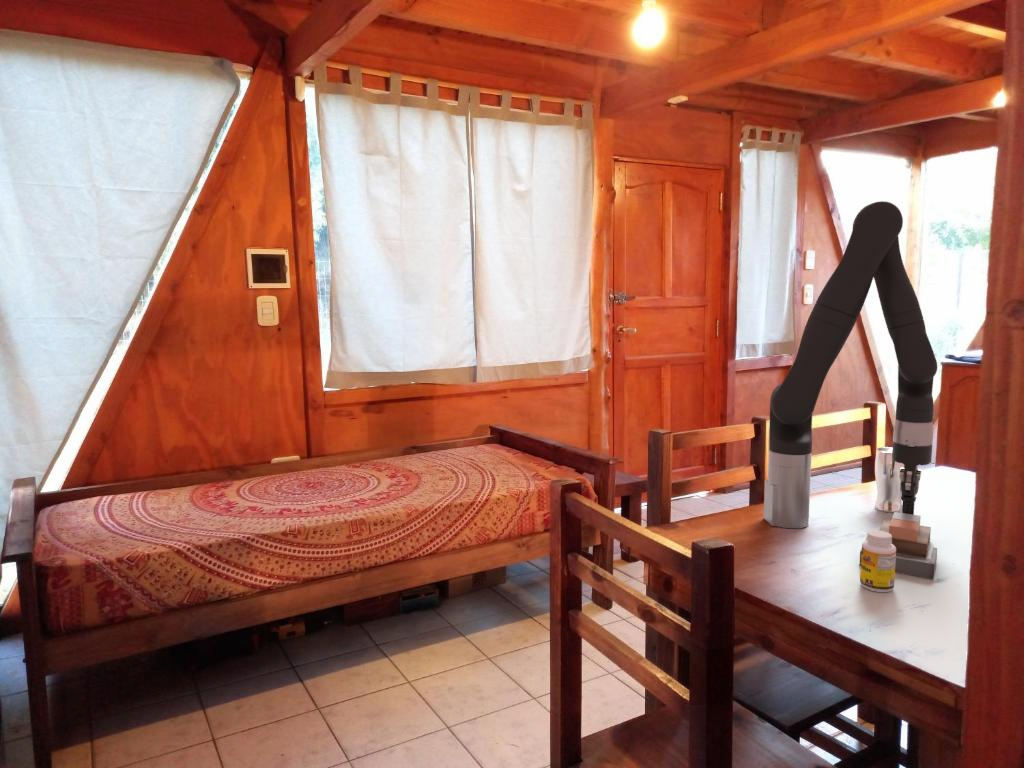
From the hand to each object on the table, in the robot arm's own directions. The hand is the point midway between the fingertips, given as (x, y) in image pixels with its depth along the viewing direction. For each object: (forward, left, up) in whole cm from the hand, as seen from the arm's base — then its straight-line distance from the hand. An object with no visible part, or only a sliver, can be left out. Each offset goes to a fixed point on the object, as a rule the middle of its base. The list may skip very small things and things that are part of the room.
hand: (907, 517), depth 155 cm
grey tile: (-3, -4, -1) cm, 5 cm away
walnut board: (-4, -7, -4) cm, 8 cm away
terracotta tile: (-5, -9, -1) cm, 11 cm away
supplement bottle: (-19, -28, -4) cm, 34 cm away
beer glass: (+5, +18, -4) cm, 19 cm away
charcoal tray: (-10, -17, -4) cm, 20 cm away
